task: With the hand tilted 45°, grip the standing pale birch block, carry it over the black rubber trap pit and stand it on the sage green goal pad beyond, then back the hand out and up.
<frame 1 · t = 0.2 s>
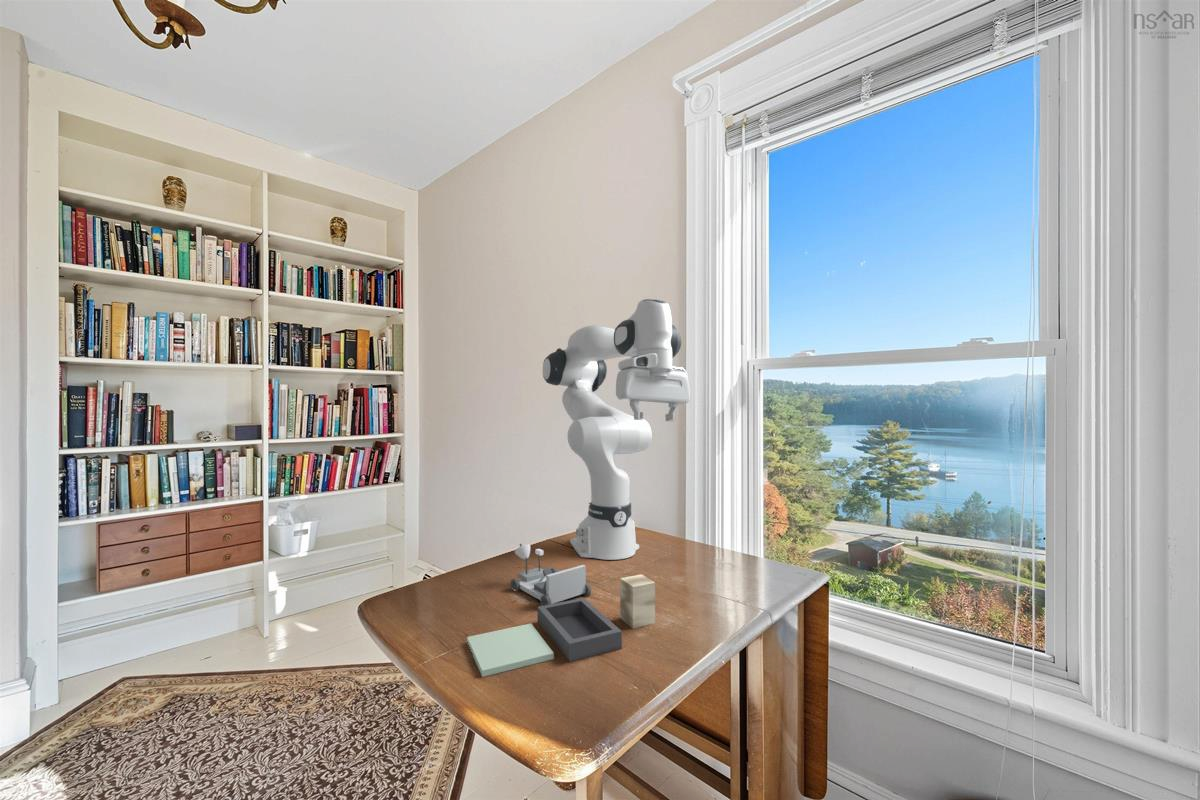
hand: (654, 420, 116), 39 cm above the table, tool pointing down, fingers open, 8 cm apart
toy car: (546, 593, 110), on the table
goal pad: (509, 650, 84), on the table
birch block: (637, 620, 95), on the table
trap pit: (577, 634, 90), on the table
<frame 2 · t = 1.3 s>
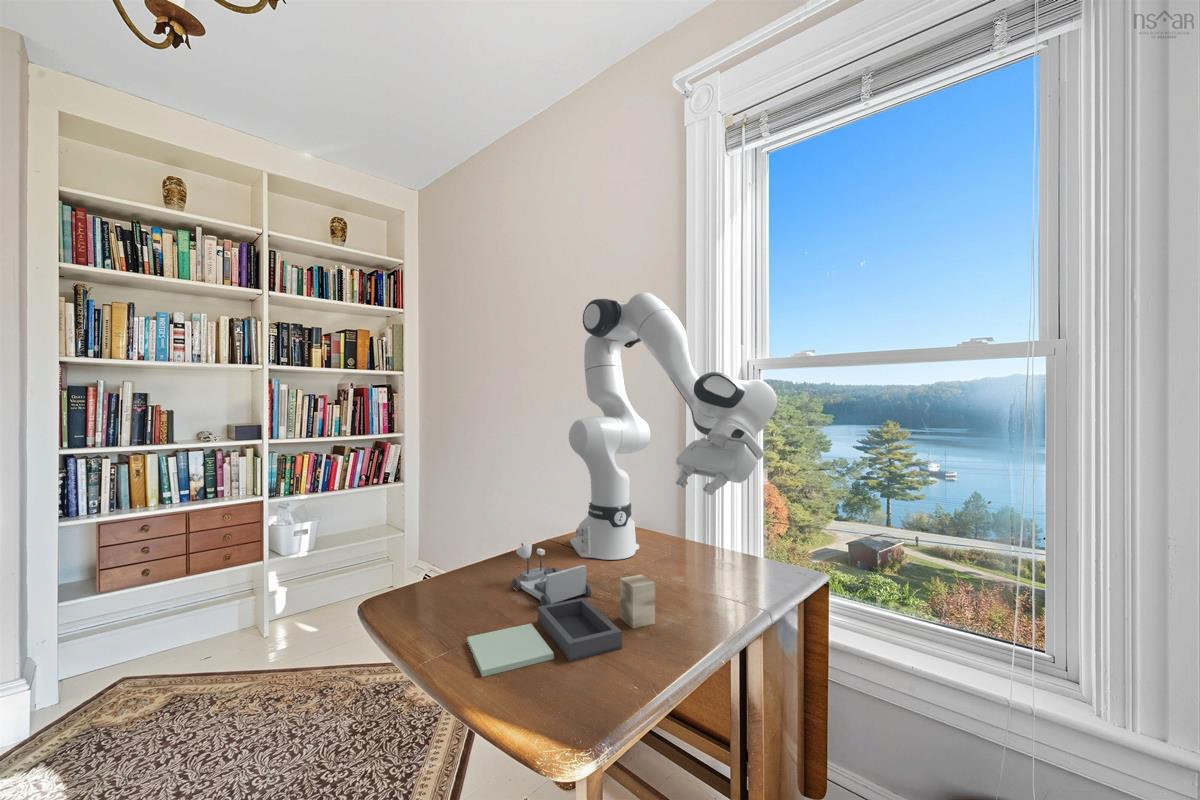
hand: (692, 489, 101), 25 cm above the table, tool tilted 45°, fingers open, 8 cm apart
nothing on the table moved.
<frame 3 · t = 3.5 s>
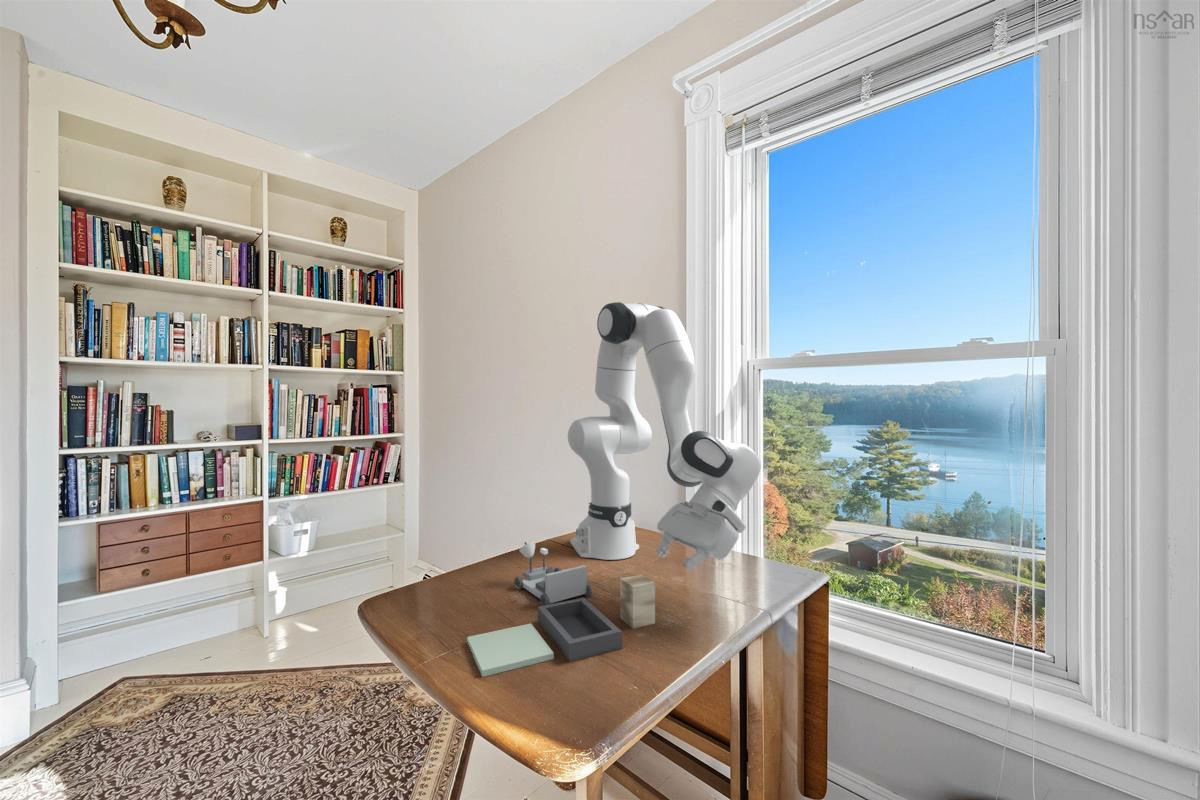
hand: (672, 561, 99), 11 cm above the table, tool tilted 45°, fingers open, 8 cm apart
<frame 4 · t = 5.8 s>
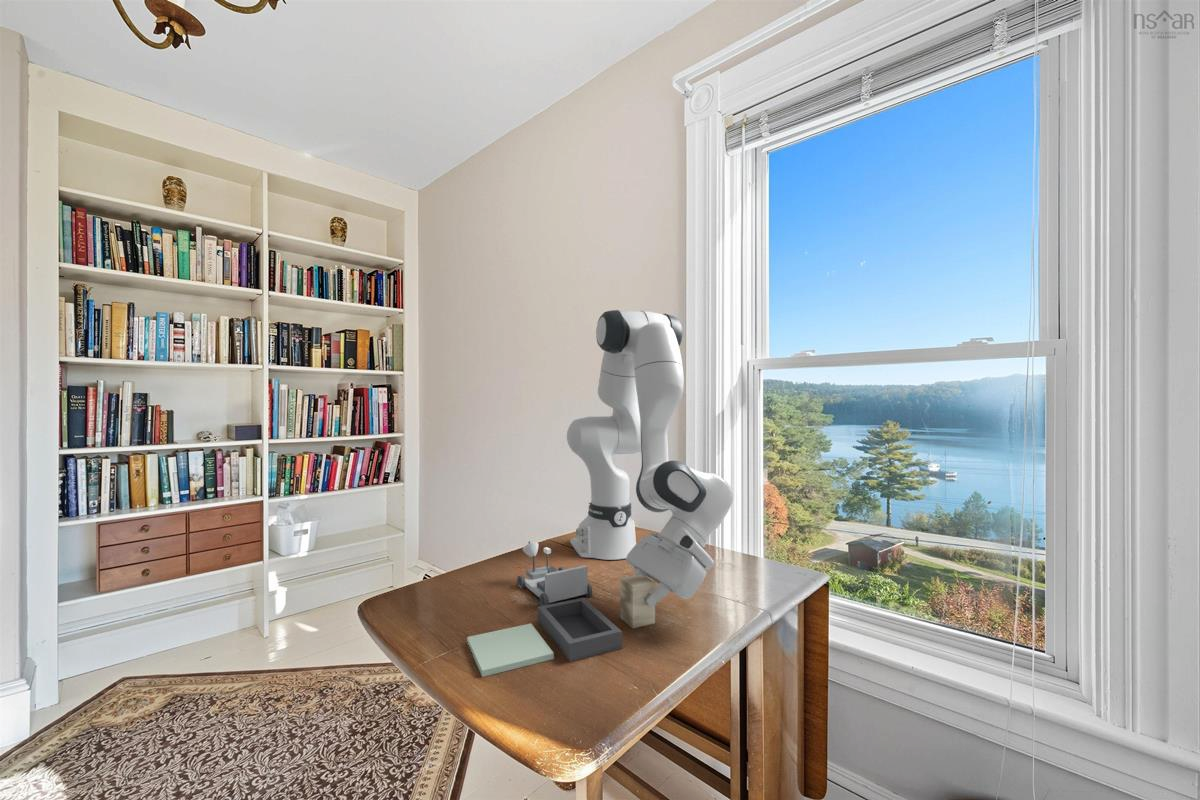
hand: (639, 598, 95), 4 cm above the table, tool tilted 45°, fingers closed on birch block, 5 cm apart
birch block: (637, 620, 95), on the table, touching gripper
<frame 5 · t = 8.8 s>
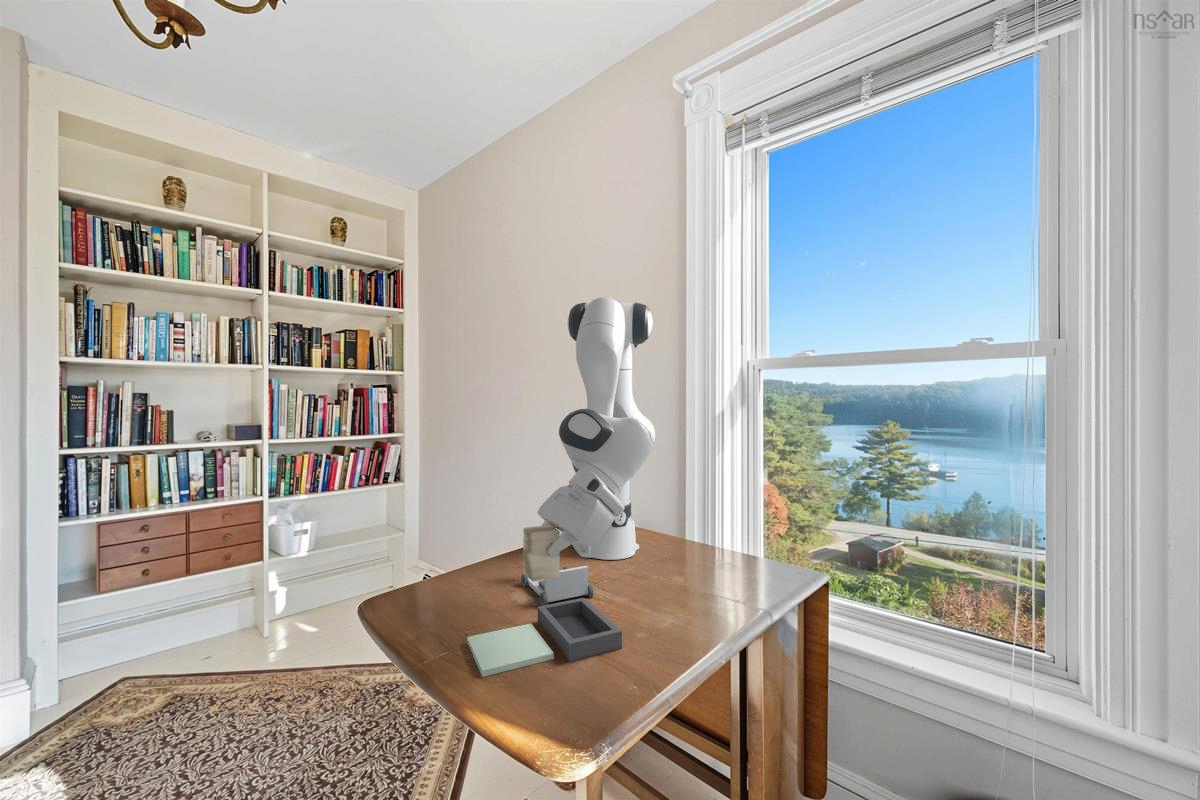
hand: (542, 549, 86), 17 cm above the table, tool tilted 45°, fingers closed on birch block, 5 cm apart
birch block: (541, 574, 86), point 13 cm above the table, touching gripper
when the fingers open (7 cm above the table, at t = 12.0 s): birch block drops 1 cm, resting on goal pad.
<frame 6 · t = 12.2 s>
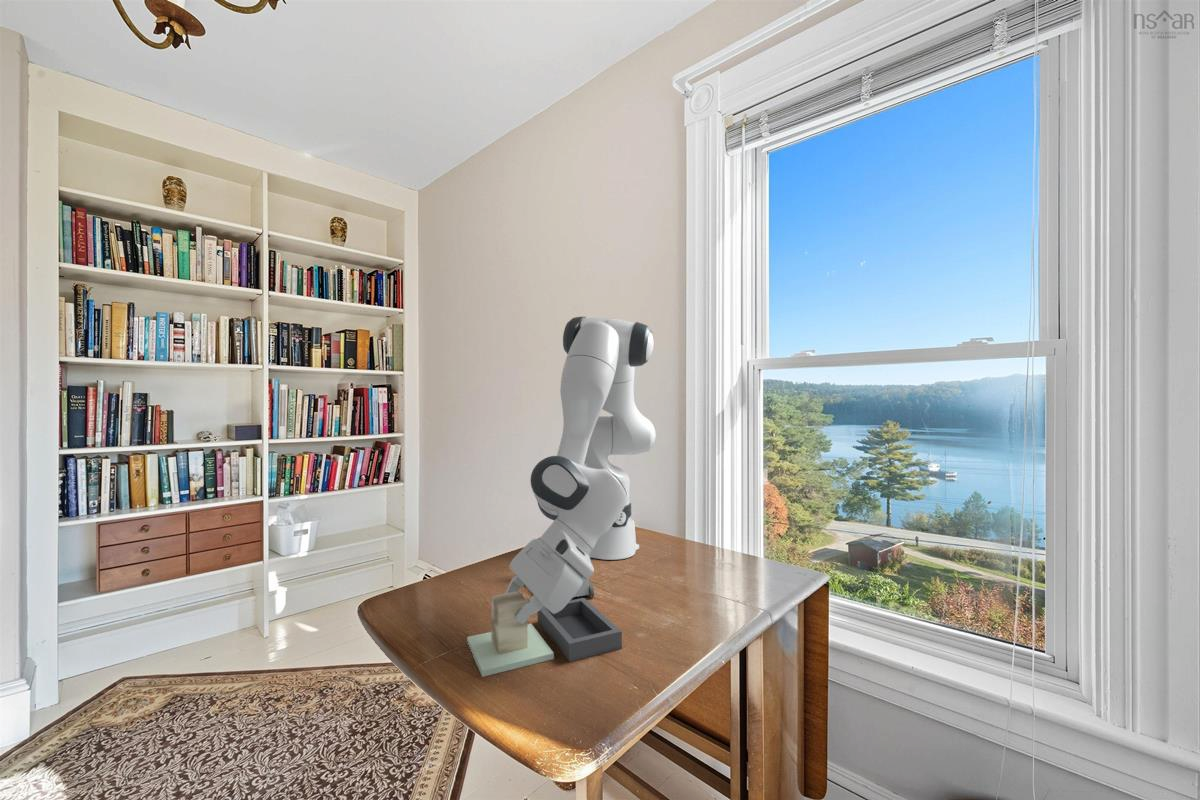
hand: (511, 610, 84), 7 cm above the table, tool tilted 45°, fingers open, 7 cm apart
birch block: (509, 644, 84), point 1 cm above the table, touching goal pad
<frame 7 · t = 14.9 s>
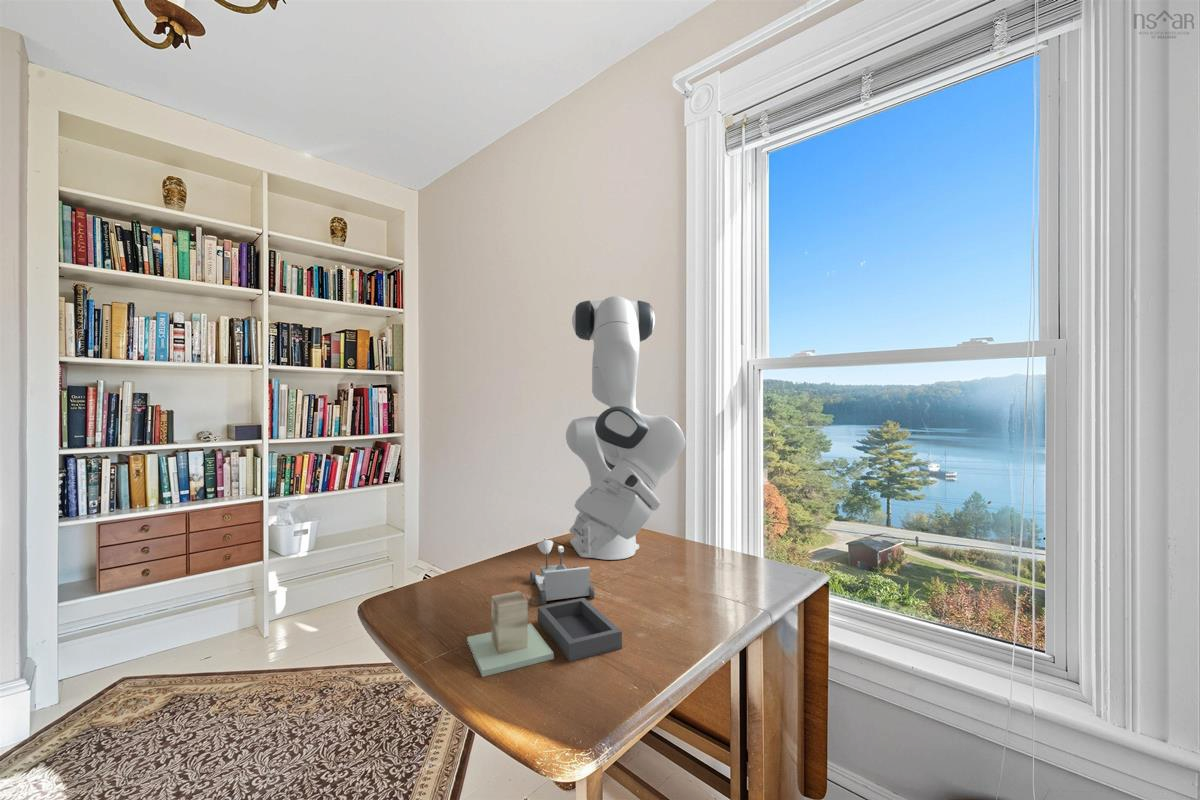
hand: (582, 541, 91), 17 cm above the table, tool tilted 45°, fingers open, 8 cm apart
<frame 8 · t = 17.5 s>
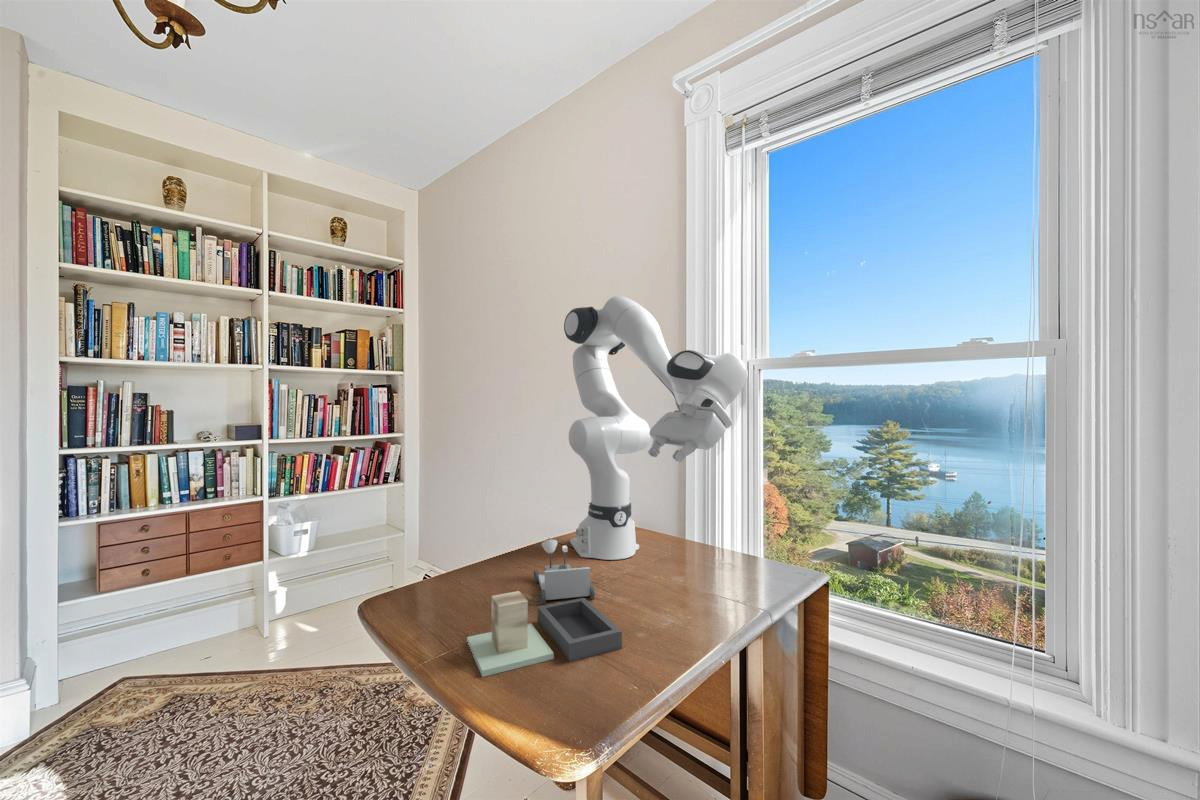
hand: (663, 457, 104), 31 cm above the table, tool tilted 45°, fingers open, 8 cm apart
at the end: birch block inside the target area (0.1 cm from its centre), point 1.0 cm above the table; birch block tilted 0°; birch block touching goal pad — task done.
